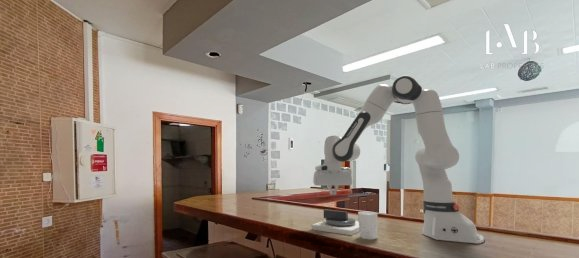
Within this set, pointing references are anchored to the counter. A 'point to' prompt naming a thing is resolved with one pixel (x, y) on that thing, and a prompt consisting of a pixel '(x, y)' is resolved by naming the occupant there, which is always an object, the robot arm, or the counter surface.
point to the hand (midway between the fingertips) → (332, 194)
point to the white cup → (368, 224)
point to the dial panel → (337, 228)
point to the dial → (338, 218)
